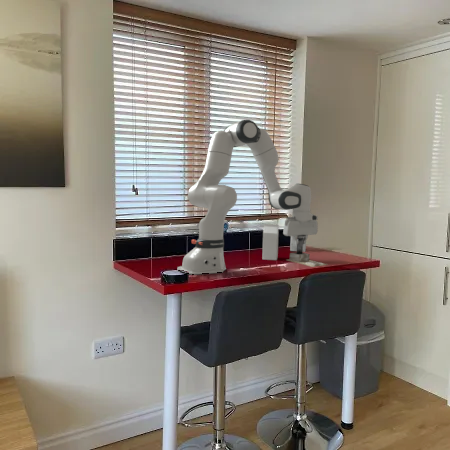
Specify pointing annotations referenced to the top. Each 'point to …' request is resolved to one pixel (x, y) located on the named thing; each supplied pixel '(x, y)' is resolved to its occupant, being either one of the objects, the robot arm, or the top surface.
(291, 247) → the supplement box
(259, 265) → the top surface
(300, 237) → the pin
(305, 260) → the eye block
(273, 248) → the milk carton
